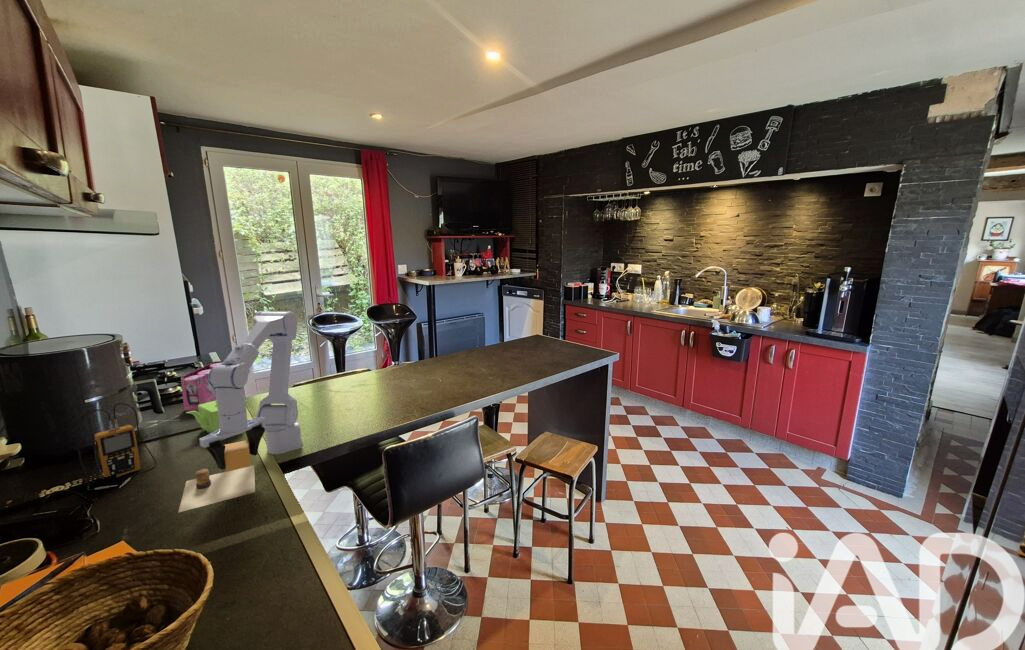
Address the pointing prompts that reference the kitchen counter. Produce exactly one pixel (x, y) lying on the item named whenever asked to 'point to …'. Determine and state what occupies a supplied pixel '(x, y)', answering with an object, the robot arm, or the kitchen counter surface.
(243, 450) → the tilted amber cube
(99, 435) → the multimeter
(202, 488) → the board
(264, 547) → the kitchen counter surface
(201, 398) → the gum box
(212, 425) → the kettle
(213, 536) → the kitchen counter surface
